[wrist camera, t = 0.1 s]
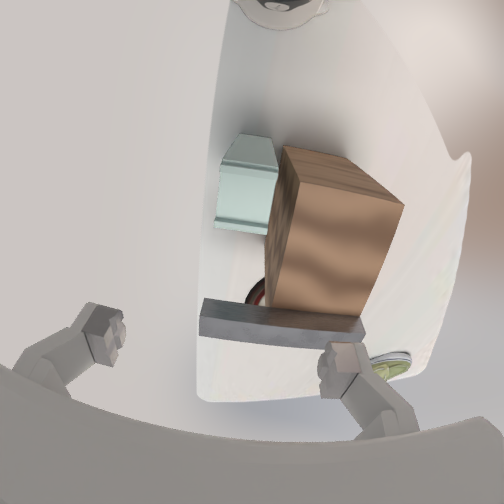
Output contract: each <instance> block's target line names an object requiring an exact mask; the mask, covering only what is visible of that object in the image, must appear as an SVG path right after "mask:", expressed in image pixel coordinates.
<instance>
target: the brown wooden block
mask: <svg viewBox="0 0 504 504" xmlns="http://www.w3.org/2000/svg"><path fill="white" fill-rule="evenodd" d="M404 206H405V205H404V204H403V203H402V202H401V201H399V200H398V199H397V198H396V197H395V196H394V195H392V194H391V193H390V192H389V191H388V190H387V189H385V188H384V187H383V186H382V185H380V184H379V183H378V182H377V181H376V180H374V179H373V178H372V177H371V176H369V175H368V174H367V173H365V172H364V171H363V170H362V169H360V168H359V167H358V166H356V165H355V164H354V163H352V162H351V161H350V160H348V159H347V158H343V157H338V156H334V155H330V154H325V153H320V152H316V151H311V150H306V149H301V148H296V147H290V146H285V145H283V150H282V155H281V160H280V166H279V171H278V178H277V182H276V188H275V193H274V198H273V204H272V209H271V214H270V219H269V225H268V231H267V235H266V240H265V306H266V307H274V308H282V309H291V310H300V311H309V312H319V313H329V314H340V315H351V316H360V315H361V312H362V310H363V308H364V306H365V304H366V302H367V300H368V297H369V295H370V293H371V291H372V289H373V286H374V284H375V282H376V279H377V277H378V275H379V272H380V270H381V268H382V265H383V263H384V260H385V258H386V255H387V253H388V250H389V248H390V245H391V242H392V240H393V237H394V234H395V232H396V229H397V226H398V223H399V220H400V217H401V215H402V212H403V209H404Z"/></svg>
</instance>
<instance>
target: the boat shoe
mask: <svg viewBox="0 0 504 504" xmlns="http://www.w3.org/2000/svg"><path fill="white" fill-rule="evenodd" d="M370 363H371V366H372V369H373V372H374V373H377V374H378V375H379V376H380V377H381V378H382V379H384V380H385V381H387V380H388V379H391V378H393V377H395V376H397V375H400V374H402V373H404V372H406V371H407V370H408V369H409V368H410V366H411V364H412V359H411V357H410V355H408V354H405V353H388V354H385V355H382V356H379V357H377V358H374V359H371V360H370Z"/></svg>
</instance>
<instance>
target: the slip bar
mask: <svg viewBox="0 0 504 504" xmlns="http://www.w3.org/2000/svg"><path fill="white" fill-rule="evenodd" d="M365 335H366V332H365V330H364V327H363V324H362V321H361V318H360V316H351V315H340V314H329V313H319V312H309V311H300V310H291V309H282V308H274V307H266V306H258V305H251V304H243V303H236V302H229V301H222V300H215V299H209V298H204V301H203V305H202V309H201V313H200V319H199V336H205V337H211V338H218V339H225V340H232V341H240V342H248V343H256V344H265V345H274V346H284V347H295V348H308V349H322V350H325V345H326V343H327V342H328V341H338V342H358V343H361V342H362V340H363V338H364V336H365Z"/></svg>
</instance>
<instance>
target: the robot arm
mask: <svg viewBox="0 0 504 504" xmlns="http://www.w3.org/2000/svg"><path fill="white" fill-rule="evenodd" d="M232 1H234V2H235V3H237V4H238V5H239V6H240V7H241V9H242V11H243V12H244V14H245V15H246V16H247V17H248V18H249V19H250V20H251V21H253V22H254V23H256V24H258V25H260V26H262V27H265V28H269V29H274V30H288V29H293V28H296V27H299V26H301V25H303V24H305V23H306V22H308V21H309V20H310V19H311V18H313V17H314V16H317V15H321V14H324V13H326V12H327V11H328V9H329V5H328V0H232ZM323 3H324V4H323ZM122 319H123V314H122V311H121V310H118V309H114V308H110V307H107V306H103V305H99V304H95V303H91V302H88V303H86V304H85V306H84V307H83V309H82V311H81V312H80V313H79V315H78V316H77V318H76V319H75V321H74V323H73V324H72V326H71V327H70V328H68V327H66V328H64V329H62V330H60V331H59V332H57V333H55V334H53V335H51V336H49V337H47V338H45V339H43V340H41V341H39V342H37V343H35V344H34V345H32V346H30V347H28V348H26V349H25V350H24V351H23V353H22V355H21V356H20V358H19V359H18V361H17V362H16V364H15V365H14V367H13V369H12V370H10V369H8V368H6V367H5V366H3V365H1V364H0V504H504V437H503V435H502V434H501V432H500V431H499V430H498V429H497V428H496V427H495V426H494V425H492V424H491V423H490V422H489V421H488V420H486V419H485V418H484V417H480V416H479V417H474V418H471V419H467V420H464V421H460V422H457V423H453V424H449V425H445V426H441V427H437V428H432V429H428V430H423V431H420V429H419V426H418V422H417V419H416V416H415V413H414V409H413V407H412V406H411V405H410V404H409V403H408V402H407V401H406V400H405V399H404V398H403V397H402V396H401V395H399V394H398V393H397V392H396V391H395V390H394V389H393V388H392V387H391V386H390V385H389V384H388V383H387V382H386V381H385V380H384V379H382V378H381V377H380V376H379V375H378V374H377V373H374V372H373V369H372V366H371V363H370V359H369V356H368V353H367V350H366V347H365V344H364V343H358V342H338V341H328V342H327V343H326V345H325V352H324V353H323V354H321V356H320V358H319V360H318V366H317V372H318V377H319V378H320V379H321V380H322V381H321V383H320V385H319V387H320V394H321V398H327V399H340V400H341V401H342V403H343V404H344V405H345V407H346V408H347V409H348V411H349V412H350V413H351V415H352V416H353V417H354V419H355V420H356V421H357V423H358V424H359V425H360V427H361V428H362V429H363V431H362V432H361V433H360V434H359V435H358V436H357V437H356V438H355V439H354V440H351V441H336V442H271V441H270V442H269V441H255V440H243V439H234V438H226V437H217V436H211V435H204V434H198V433H192V432H187V431H181V430H176V429H171V428H167V427H162V426H158V425H153V424H150V423H146V422H141V421H138V420H134V419H131V418H127V417H124V416H121V415H117V414H114V413H111V412H107V411H104V410H102V409H98V408H96V407H92V406H90V405H87V404H85V403H82V402H79V401H77V400H74V399H72V398H71V395H70V394H69V392H68V391H67V389H66V387H65V386H66V385H67V384H69V383H70V382H71V381H73V380H74V379H75V378H77V377H78V376H79V375H80V374H82V373H83V372H84V371H85V370H87V369H88V368H90V367H91V366H92V365H93V364H95V363H99V364H102V365H106V366H110V367H113V366H114V364H115V362H116V359H117V357H118V352H117V350H118V349H120V348H121V347H122V346H123V344H124V341H125V337H126V328H125V325H124V324H123V322H122Z"/></svg>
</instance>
